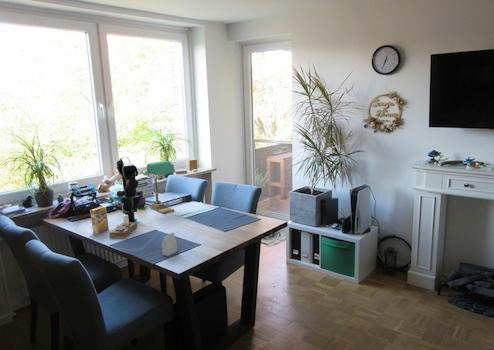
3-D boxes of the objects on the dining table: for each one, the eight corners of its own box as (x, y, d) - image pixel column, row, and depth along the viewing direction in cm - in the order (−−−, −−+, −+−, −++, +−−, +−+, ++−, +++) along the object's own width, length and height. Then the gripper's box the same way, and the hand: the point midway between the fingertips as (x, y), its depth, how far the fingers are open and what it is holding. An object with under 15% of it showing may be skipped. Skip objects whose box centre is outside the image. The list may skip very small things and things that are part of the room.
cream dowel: (125, 228, 238) (124, 214, 237) (130, 228, 238) (128, 214, 236) (123, 230, 236) (122, 216, 234) (128, 230, 235) (126, 216, 233)
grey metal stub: (119, 233, 230) (118, 224, 228) (124, 233, 229) (123, 224, 228) (117, 235, 227) (116, 225, 226) (122, 235, 226) (121, 225, 225)
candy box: (97, 235, 232) (94, 210, 229) (92, 234, 235) (89, 209, 232) (109, 230, 240) (106, 206, 237) (104, 229, 242) (101, 205, 239)
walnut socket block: (123, 228, 242) (122, 222, 241) (137, 228, 241) (136, 222, 240) (110, 239, 224) (109, 232, 224) (125, 239, 223) (124, 232, 223)
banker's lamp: (165, 205, 292) (161, 159, 285) (179, 210, 276) (176, 162, 270) (146, 209, 283) (141, 162, 276) (159, 215, 267) (155, 165, 260)
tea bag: (177, 251, 202) (175, 233, 200) (167, 256, 197) (166, 237, 195) (172, 250, 204) (170, 232, 202) (162, 254, 199) (161, 236, 197)
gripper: (125, 182, 244) (127, 206, 247) (110, 189, 226) (113, 214, 229) (142, 181, 242) (144, 206, 245) (129, 188, 224) (131, 214, 227)
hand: (133, 210), depth 237 cm, fingers open, 9 cm apart
